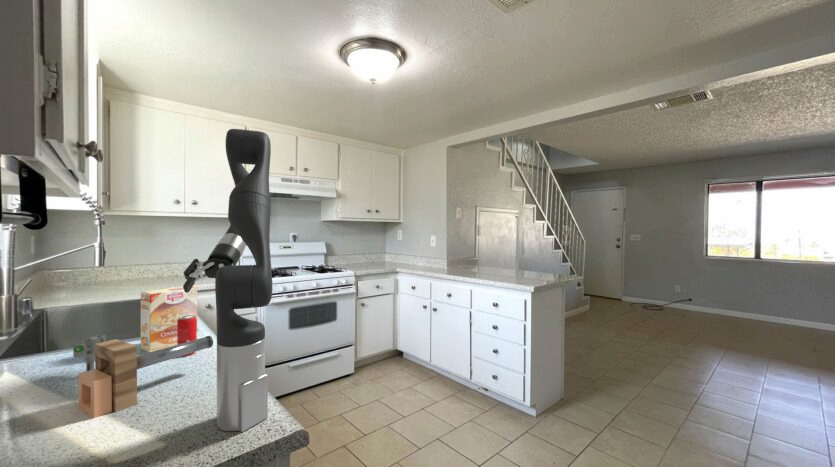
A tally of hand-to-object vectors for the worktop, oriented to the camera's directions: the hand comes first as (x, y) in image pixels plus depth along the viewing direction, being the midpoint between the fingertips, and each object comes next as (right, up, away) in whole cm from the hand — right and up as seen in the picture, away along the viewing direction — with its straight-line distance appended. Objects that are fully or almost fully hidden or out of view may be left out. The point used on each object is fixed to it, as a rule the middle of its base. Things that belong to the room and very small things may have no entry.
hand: (202, 293), depth 94 cm
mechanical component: (-32, -23, +1) cm, 39 cm away
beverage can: (-16, -23, +18) cm, 33 cm away
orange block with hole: (-14, -23, -17) cm, 32 cm away
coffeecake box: (-27, -23, +26) cm, 44 cm away
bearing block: (-12, -23, -13) cm, 29 cm away
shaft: (-7, -17, -3) cm, 18 cm away
